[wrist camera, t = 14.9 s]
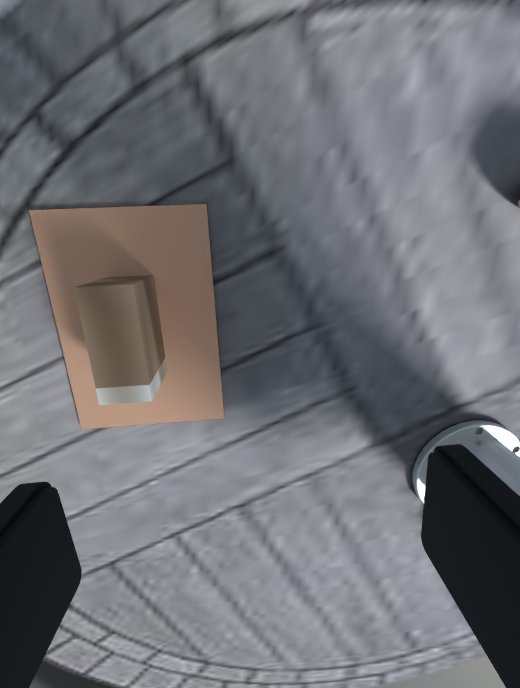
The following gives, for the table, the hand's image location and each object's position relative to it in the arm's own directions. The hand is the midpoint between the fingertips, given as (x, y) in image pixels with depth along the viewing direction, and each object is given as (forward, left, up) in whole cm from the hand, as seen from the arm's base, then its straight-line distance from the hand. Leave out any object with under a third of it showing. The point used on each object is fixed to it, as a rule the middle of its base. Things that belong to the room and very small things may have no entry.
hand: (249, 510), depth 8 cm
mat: (-1, +9, -23) cm, 25 cm away
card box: (-1, +9, -23) cm, 24 cm away
